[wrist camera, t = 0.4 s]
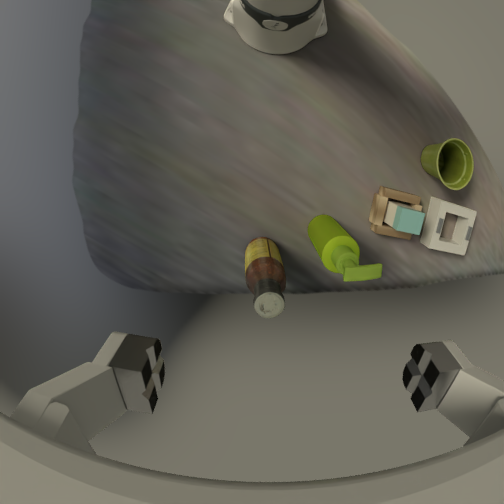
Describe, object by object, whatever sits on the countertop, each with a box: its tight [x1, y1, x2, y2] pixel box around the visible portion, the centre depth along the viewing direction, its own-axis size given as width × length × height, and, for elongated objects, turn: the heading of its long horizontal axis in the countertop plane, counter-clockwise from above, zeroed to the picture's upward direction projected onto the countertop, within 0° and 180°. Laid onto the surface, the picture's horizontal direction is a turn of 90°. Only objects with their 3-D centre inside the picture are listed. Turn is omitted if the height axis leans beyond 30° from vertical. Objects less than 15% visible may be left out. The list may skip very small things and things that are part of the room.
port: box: [420, 196, 477, 255], centre depth 51 cm, size 10×11×4 cm
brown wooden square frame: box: [369, 186, 422, 240], centre depth 51 cm, size 9×10×3 cm
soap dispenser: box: [308, 215, 382, 281], centre depth 45 cm, size 6×7×20 cm
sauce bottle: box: [245, 237, 286, 318], centre depth 47 cm, size 6×6×20 cm
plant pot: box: [421, 138, 474, 190], centre depth 44 cm, size 9×9×9 cm
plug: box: [383, 200, 425, 235], centre depth 49 cm, size 4×5×8 cm
